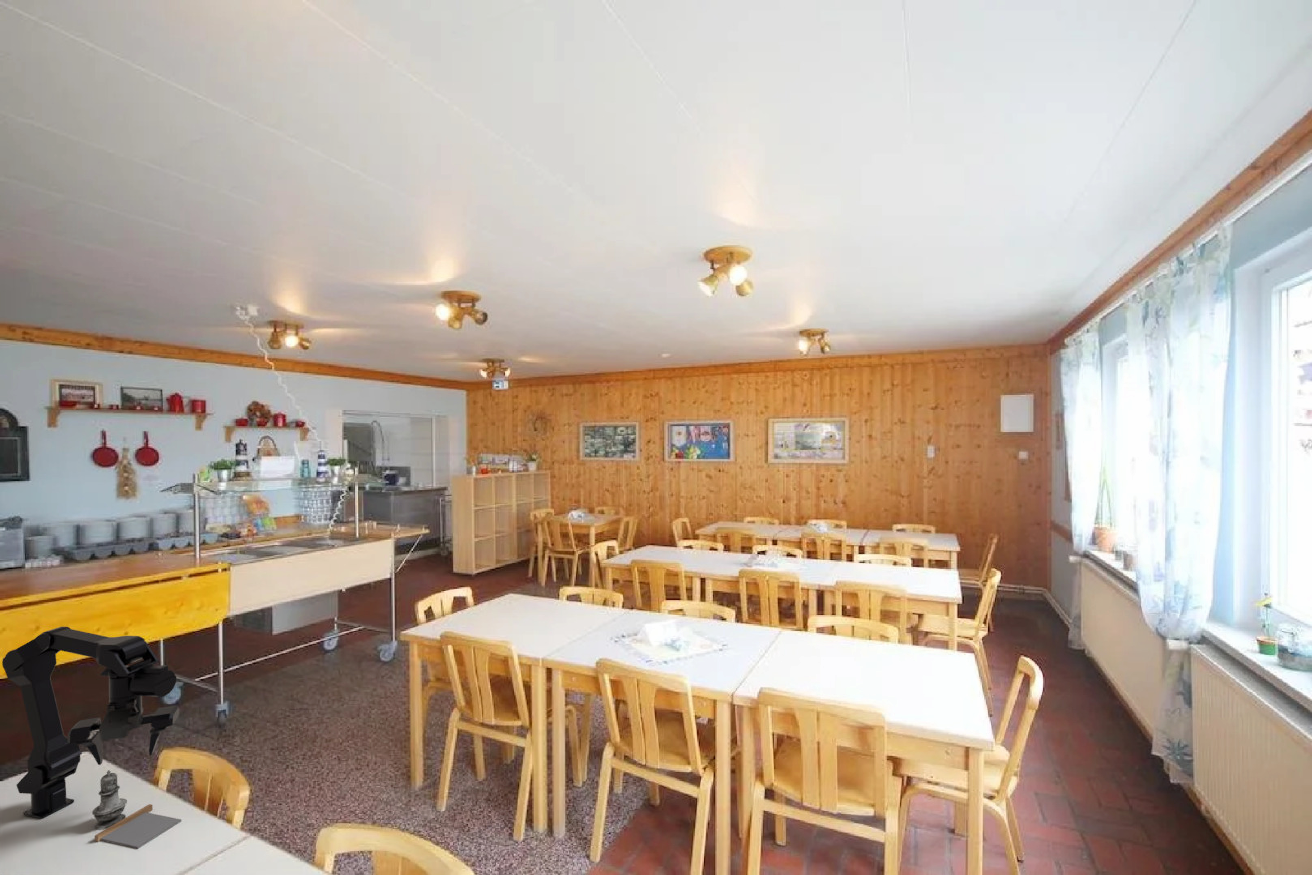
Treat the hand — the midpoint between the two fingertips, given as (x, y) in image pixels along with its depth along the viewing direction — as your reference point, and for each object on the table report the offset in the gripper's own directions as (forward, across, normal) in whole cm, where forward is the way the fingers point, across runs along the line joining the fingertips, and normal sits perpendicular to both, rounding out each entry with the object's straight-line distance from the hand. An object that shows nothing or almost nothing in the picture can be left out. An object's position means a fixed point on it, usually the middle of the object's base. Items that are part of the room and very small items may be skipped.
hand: (126, 759), depth 138 cm
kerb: (+13, +1, -5) cm, 14 cm away
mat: (+12, +6, -10) cm, 17 cm away
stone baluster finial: (+13, -2, -2) cm, 13 cm away
